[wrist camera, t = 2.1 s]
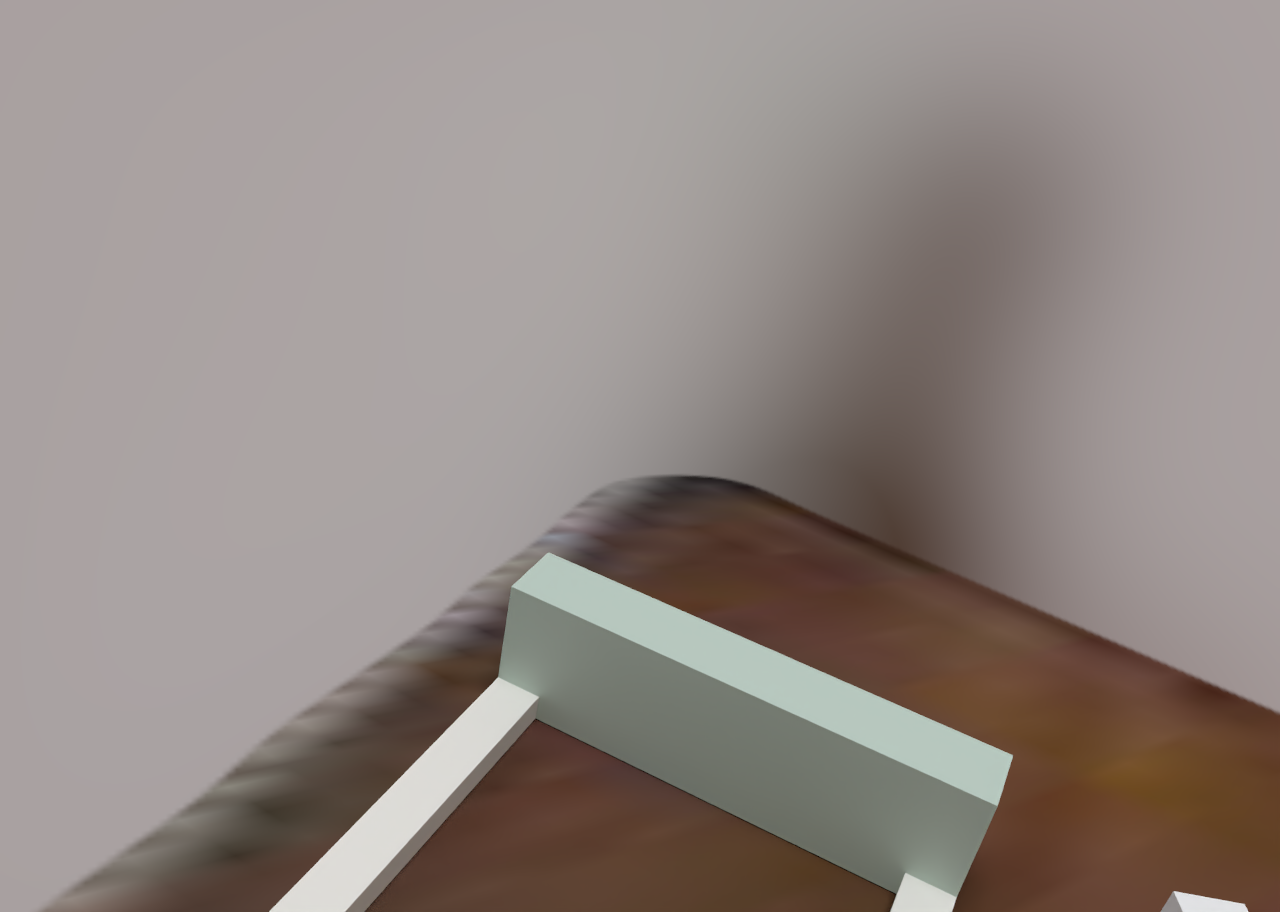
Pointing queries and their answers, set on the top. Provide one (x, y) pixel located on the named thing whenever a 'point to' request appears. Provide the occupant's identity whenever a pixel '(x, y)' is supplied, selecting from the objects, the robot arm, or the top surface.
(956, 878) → the guide track
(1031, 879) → the top surface
